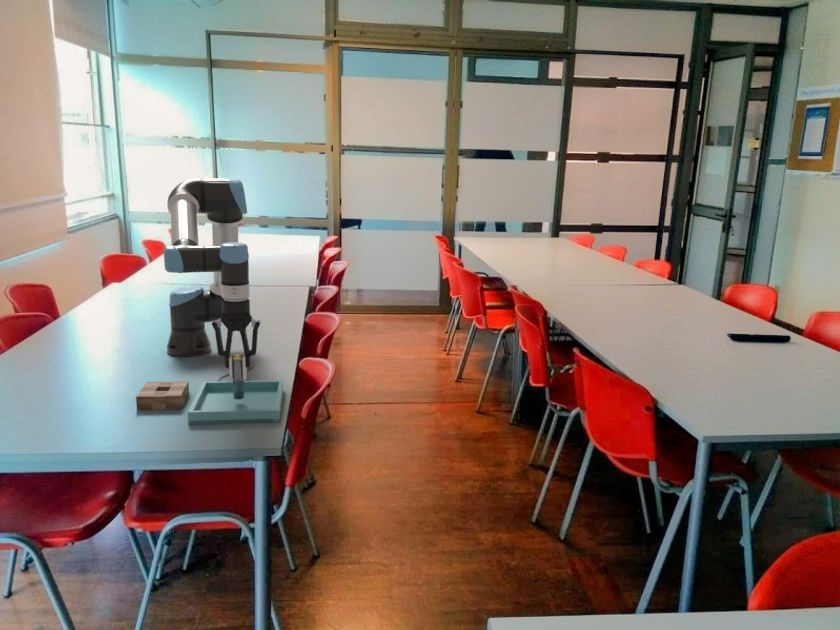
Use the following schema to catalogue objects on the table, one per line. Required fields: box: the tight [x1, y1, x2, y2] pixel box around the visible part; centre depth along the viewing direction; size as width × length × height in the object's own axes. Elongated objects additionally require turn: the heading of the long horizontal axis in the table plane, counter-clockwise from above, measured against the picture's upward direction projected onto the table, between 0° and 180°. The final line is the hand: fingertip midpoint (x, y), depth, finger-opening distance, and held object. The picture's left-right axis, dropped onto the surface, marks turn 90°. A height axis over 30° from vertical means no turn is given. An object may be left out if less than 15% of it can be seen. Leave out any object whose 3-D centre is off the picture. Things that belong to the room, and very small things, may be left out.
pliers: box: [217, 362, 256, 381], centre depth 215 cm, size 10×1×20 cm
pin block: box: [135, 380, 190, 411], centre depth 189 cm, size 12×12×4 cm
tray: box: [187, 379, 284, 425], centre depth 187 cm, size 24×24×4 cm
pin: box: [231, 353, 245, 399], centre depth 185 cm, size 3×3×13 cm
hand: (238, 377), depth 186 cm, fingers closed on pin, 3 cm apart
